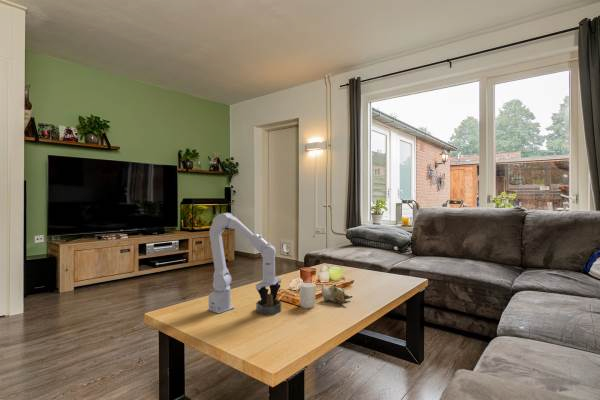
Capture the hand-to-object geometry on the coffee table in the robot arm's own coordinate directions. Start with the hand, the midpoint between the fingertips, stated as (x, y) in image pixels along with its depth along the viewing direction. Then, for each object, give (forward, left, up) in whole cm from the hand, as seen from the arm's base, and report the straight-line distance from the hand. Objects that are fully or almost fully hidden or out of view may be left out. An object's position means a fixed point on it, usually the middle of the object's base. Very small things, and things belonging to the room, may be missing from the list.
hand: (268, 301), depth 151 cm
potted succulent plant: (+30, -17, -4) cm, 34 cm away
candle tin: (0, 0, -4) cm, 4 cm away
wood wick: (0, 0, -3) cm, 3 cm away
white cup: (+16, -10, -4) cm, 19 cm away
